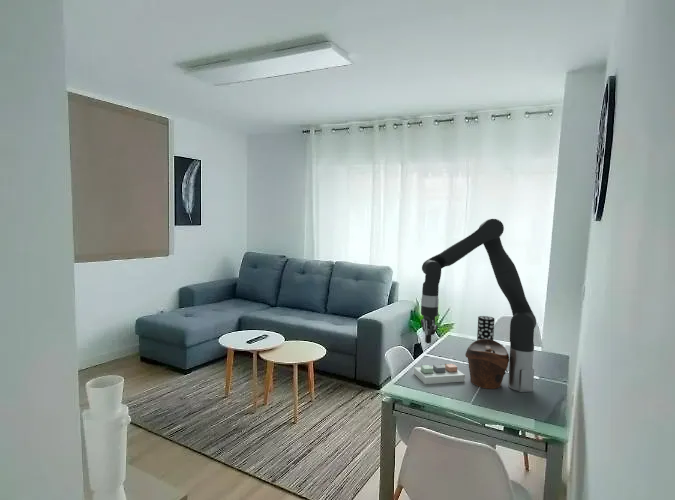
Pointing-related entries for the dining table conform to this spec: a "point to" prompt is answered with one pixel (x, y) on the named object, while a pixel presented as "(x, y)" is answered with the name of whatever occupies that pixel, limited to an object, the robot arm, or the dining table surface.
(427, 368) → the key sage
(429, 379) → the keypad board
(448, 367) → the key terracotta
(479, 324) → the white-spotted black cylinder
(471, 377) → the brown wooden rounded tub
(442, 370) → the key charcoal
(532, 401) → the dining table surface
